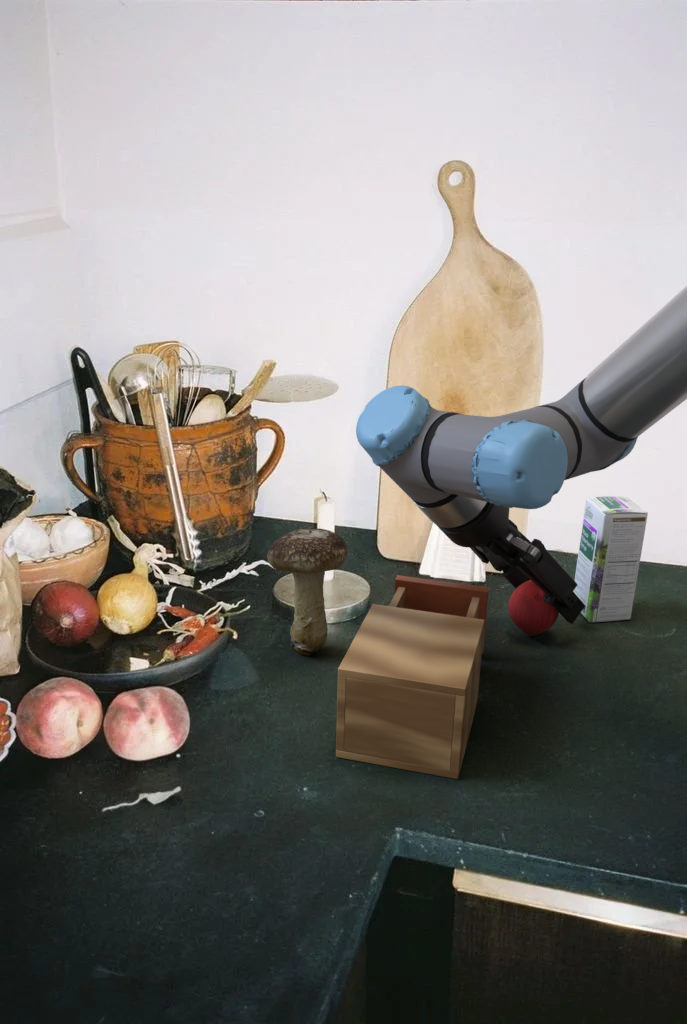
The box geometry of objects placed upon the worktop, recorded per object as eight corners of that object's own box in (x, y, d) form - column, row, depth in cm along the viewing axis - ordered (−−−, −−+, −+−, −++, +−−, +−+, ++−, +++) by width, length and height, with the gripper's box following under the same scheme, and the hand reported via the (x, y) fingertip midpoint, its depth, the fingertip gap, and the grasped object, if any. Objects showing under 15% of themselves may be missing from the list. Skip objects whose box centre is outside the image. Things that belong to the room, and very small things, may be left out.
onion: (560, 630, 113) (567, 569, 110) (549, 651, 108) (556, 589, 105) (513, 620, 115) (519, 560, 112) (500, 640, 110) (505, 578, 107)
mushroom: (291, 682, 100) (292, 554, 95) (252, 647, 107) (251, 526, 102) (363, 659, 105) (368, 536, 100) (322, 627, 112) (325, 510, 106)
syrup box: (569, 602, 120) (582, 496, 114) (612, 600, 121) (627, 494, 115) (588, 623, 114) (603, 513, 109) (633, 620, 115) (650, 510, 110)
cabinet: (369, 683, 100) (372, 603, 97) (477, 701, 98) (484, 619, 94) (335, 757, 88) (337, 668, 85) (458, 779, 85) (465, 688, 82)
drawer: (402, 617, 113) (405, 558, 110) (488, 630, 110) (494, 569, 108) (368, 691, 97) (371, 624, 94) (468, 708, 95) (474, 640, 92)
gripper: (550, 498, 91) (636, 608, 105) (424, 447, 105) (516, 550, 120) (505, 560, 90) (599, 662, 104) (384, 500, 104) (482, 597, 119)
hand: (554, 602), depth 112 cm, fingers open, 6 cm apart
